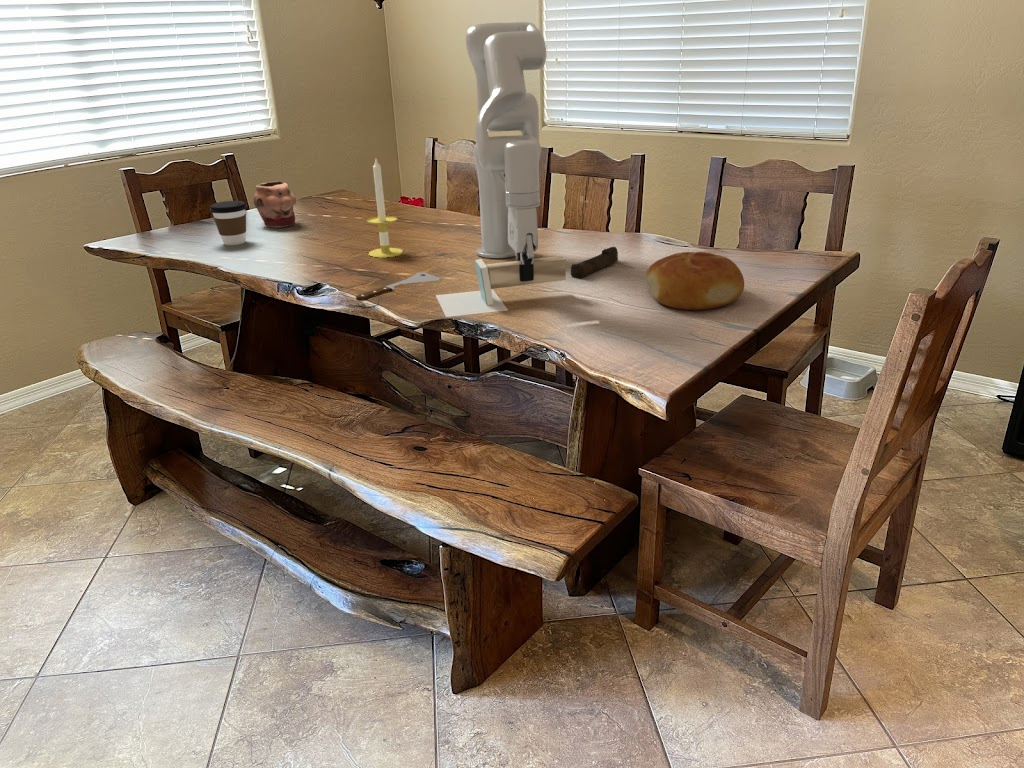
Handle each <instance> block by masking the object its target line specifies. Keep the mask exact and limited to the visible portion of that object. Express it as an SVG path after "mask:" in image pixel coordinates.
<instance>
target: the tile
mask: <svg viewBox="0 0 1024 768" xmlns="http://www.w3.org/2000/svg"><path fill="white" fill-rule="evenodd" d="M474 264H475V270H476V271H475V272H476V276H477V283H478V287H479V291H480V294H481V297H482V299H483V300H484V302H485V303H486V305H488V306H489V305H493V304H494V303H493V297H492V292H491V286H490V280H489V274H488V268H487V264H486V263H485V262H484V260H483V259H482V258H478V259H475V260H474Z"/></svg>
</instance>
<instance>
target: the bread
mask: <svg viewBox="0 0 1024 768" xmlns="http://www.w3.org/2000/svg"><path fill="white" fill-rule="evenodd" d="M645 280H646V284H647V287H648V290H649V292H650V294H651V297H652V298H653V299H654V300H655V301H657V303H660V304H661V305H664V306H666V307H670V308H674V309H679V310H683V311H684V310H685V311H686V310H687V311H702V310H703V311H704V310H709V309H710V310H711V309H716V308H721V307H723V306H727V305H729V304H731V303H733V302H735V301H736V300H738V299H739V298H740V297H741V296H742V293H743V292H744V290H745V289H744V288H745V280H744V275H743V273H742V272H741V269H740V267H738V266H737V264H736V263H735V262H734V261H733V260H731V259H730V258H728V257H726V256H723V255H720V254H714V253H711V252H705V251H695V252H694V251H685V252H684V251H683V252H677V253H674V254H670V255H667V256H665V257H662V258H660V259H658V260H656V261H655V262H654V263H652V264H651V265H649V267H648V269H647V271H646V275H645Z"/></svg>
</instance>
